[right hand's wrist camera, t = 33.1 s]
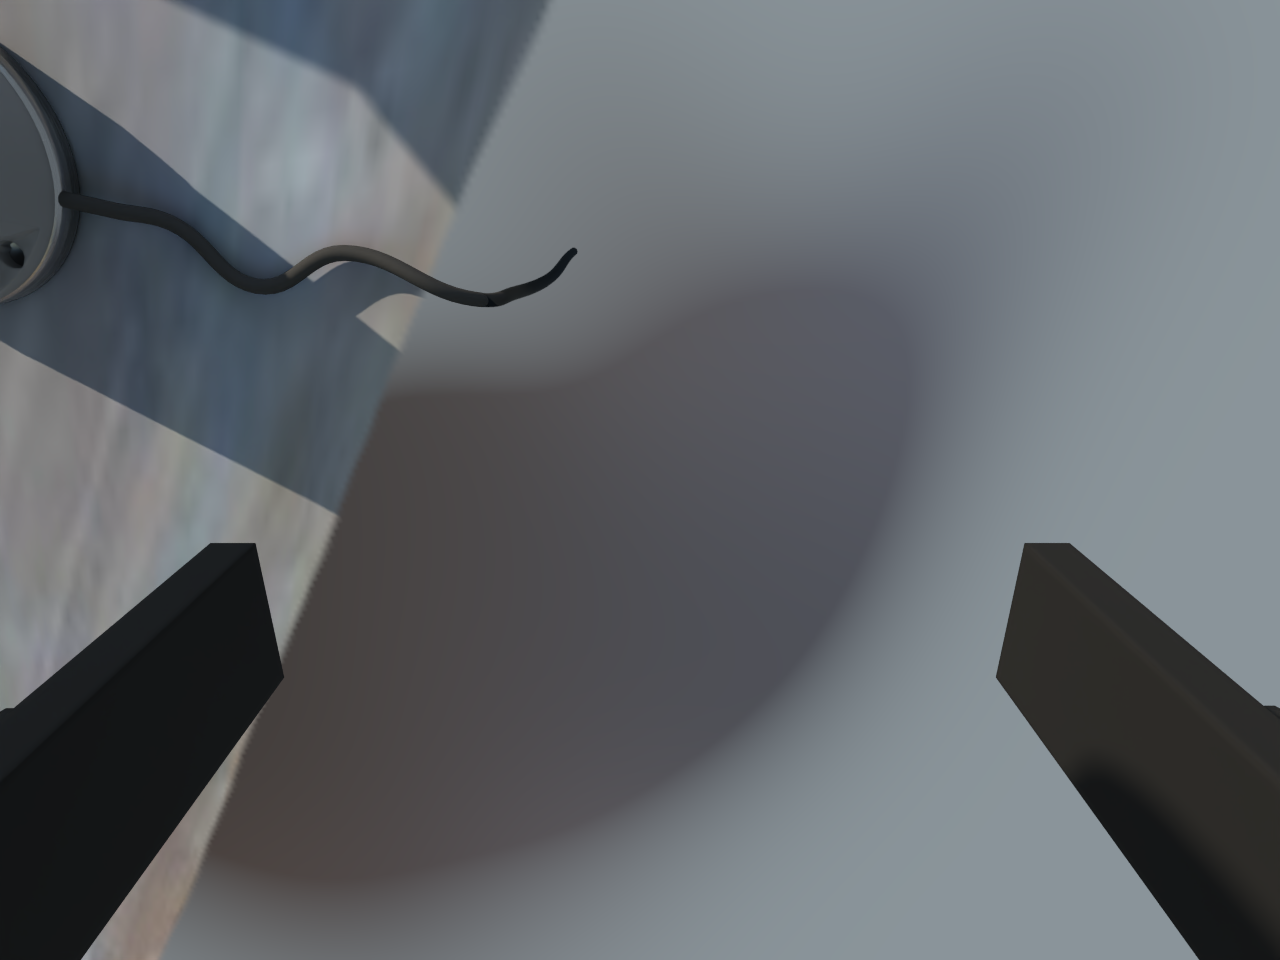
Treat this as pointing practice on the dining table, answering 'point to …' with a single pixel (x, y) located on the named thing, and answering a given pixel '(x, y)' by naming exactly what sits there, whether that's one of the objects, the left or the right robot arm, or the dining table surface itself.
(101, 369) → the dining table surface
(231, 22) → the dining table surface
